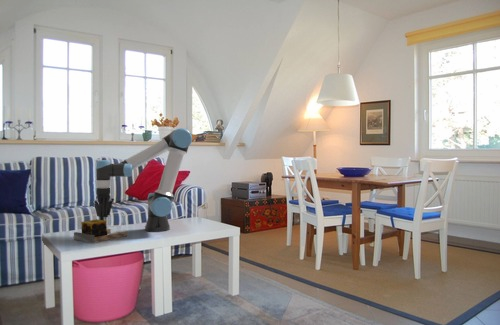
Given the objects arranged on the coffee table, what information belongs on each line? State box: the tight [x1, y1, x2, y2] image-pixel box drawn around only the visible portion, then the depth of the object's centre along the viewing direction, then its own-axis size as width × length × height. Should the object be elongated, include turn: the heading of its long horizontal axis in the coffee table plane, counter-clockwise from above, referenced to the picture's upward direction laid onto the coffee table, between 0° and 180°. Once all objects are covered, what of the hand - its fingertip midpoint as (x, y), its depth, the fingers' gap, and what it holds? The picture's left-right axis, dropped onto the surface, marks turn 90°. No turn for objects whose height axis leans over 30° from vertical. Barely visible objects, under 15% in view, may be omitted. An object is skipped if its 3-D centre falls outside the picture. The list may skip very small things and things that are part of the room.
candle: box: [80, 219, 108, 237], centre depth 220 cm, size 10×10×10 cm
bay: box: [73, 228, 128, 244], centre depth 224 cm, size 23×16×4 cm
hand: (103, 228), depth 227 cm, fingers closed
